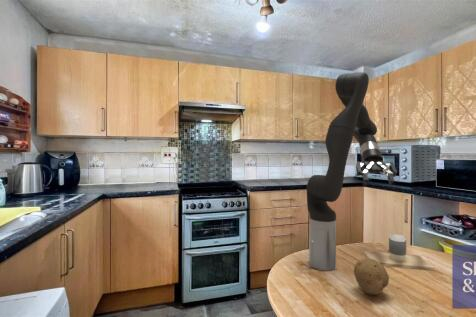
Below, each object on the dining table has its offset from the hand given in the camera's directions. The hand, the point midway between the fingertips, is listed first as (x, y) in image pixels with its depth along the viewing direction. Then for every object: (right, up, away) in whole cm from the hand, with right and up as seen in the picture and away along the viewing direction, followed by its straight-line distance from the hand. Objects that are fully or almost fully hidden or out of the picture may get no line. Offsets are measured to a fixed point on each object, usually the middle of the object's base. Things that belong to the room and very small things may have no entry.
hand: (379, 182), depth 96 cm
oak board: (+6, -30, -2) cm, 31 cm away
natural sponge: (-16, -30, -24) cm, 42 cm away
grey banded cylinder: (+6, -29, -2) cm, 30 cm away
